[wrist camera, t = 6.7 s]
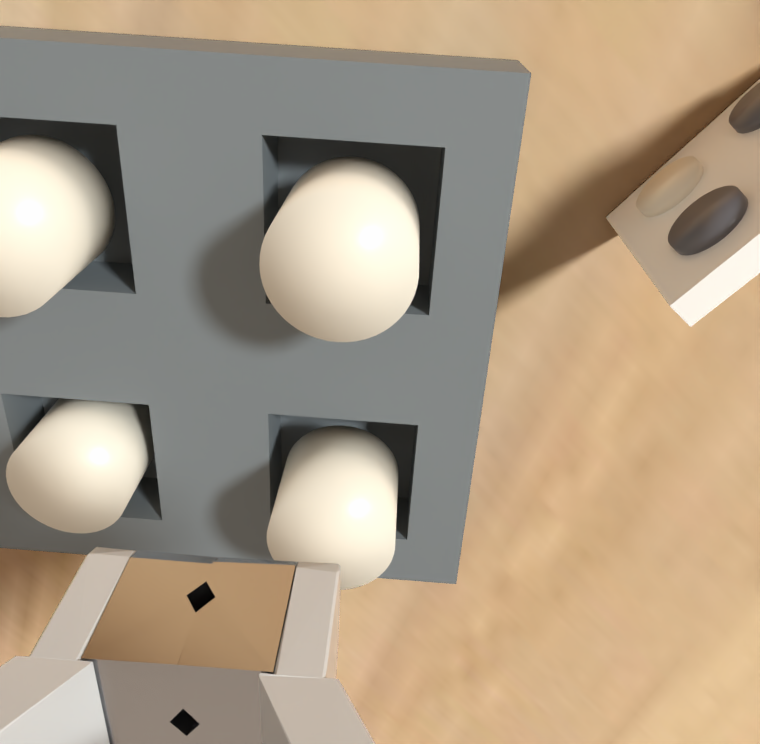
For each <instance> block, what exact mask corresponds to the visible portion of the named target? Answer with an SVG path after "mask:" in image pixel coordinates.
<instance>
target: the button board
mask: <svg viewBox="0 0 760 744" xmlns="http://www.w3.org/2000/svg"><path fill="white" fill-rule="evenodd" d="M530 78H531V73H530V72H529V71H528V70H527V69H526V68H525V67H524V66H523V65H522V64H521V63H520V62H519V61H518V60H506V59H491V58H476V57H461V56H446V55H431V54H416V53H401V52H386V51H371V50H356V49H341V48H326V47H311V46H296V45H281V44H266V43H250V42H235V41H220V40H205V39H190V38H175V37H160V36H145V35H130V34H115V33H100V32H85V31H70V30H55V29H40V28H25V27H10V26H0V142H2V141H5V140H7V139H9V138H12V137H16V136H20V135H42V136H47V137H51V138H55V139H57V140H60V141H62V142H64V143H66V144H68V145H70V146H72V147H73V148H75V149H76V150H78V151H79V152H81V153H82V154H83V155H84V156H85V157H86V158H88V159H89V160H90V162H91V163H92V164H93V165H94V166H95V167H96V168H97V170H98V171H99V172H100V174H101V175H102V177H103V178H104V180H105V182H106V184H107V186H108V188H109V190H110V193H111V196H112V199H113V203H114V208H115V226H114V230H113V234H112V237H111V239H110V242H109V243H108V245H107V247H106V248H105V249H104V251H103V252H102V253H101V254H100V255H99V256H98V257H97V258H95V259H94V260H93V261H92V262H91V263H90V264H89V265H88V266H87V267H85V268H84V269H83V270H82V271H81V272H80V273H79V274H78V275H76V276H75V277H74V278H73V279H72V280H71V281H70V282H69V283H67V284H66V285H65V286H64V287H63V288H62V289H61V290H60V291H58V292H57V293H56V294H55V295H54V296H53V297H52V298H51V299H49V300H48V301H47V302H46V303H45V304H44V305H43V306H41V307H40V308H38V309H36V310H35V311H33V312H30V313H28V314H25V315H21V316H16V317H0V548H9V549H22V550H34V551H47V552H60V553H72V554H85V555H88V554H89V553H90V552H91V551H92V550H94V549H95V548H96V547H103V548H113V549H123V550H133V551H137V550H144V551H154V552H165V553H176V554H186V555H197V556H207V557H217V558H218V557H228V558H244V559H261V560H273V558H272V556H271V554H270V552H269V549H268V545H267V529H268V525H269V522H270V518H271V514H272V511H273V507H274V504H275V500H276V496H277V493H278V489H279V486H280V482H281V478H282V475H283V471H284V467H285V464H286V460H287V457H288V454H289V452H290V450H291V448H292V447H293V445H294V444H295V443H296V442H297V441H298V440H299V439H300V438H301V437H302V436H304V435H306V434H307V433H309V432H311V431H313V430H315V429H318V428H321V427H326V426H334V425H344V426H351V427H356V428H359V429H362V430H365V431H367V432H369V433H371V434H373V435H375V436H376V437H378V438H379V439H380V440H381V441H383V442H384V443H385V444H386V445H387V446H388V447H389V449H390V450H391V452H392V453H393V455H394V457H395V459H396V462H397V465H398V496H397V517H396V538H395V551H394V556H393V558H392V561H391V563H390V564H389V566H388V568H387V569H386V570H385V571H384V572H383V573H382V574H381V575H380V576H379V577H377V578H386V579H399V580H412V581H424V582H437V583H449V584H456V581H457V574H458V567H459V560H460V553H461V547H462V540H463V533H464V526H465V519H466V513H467V506H468V499H469V492H470V485H471V479H472V472H473V465H474V458H475V451H476V445H477V438H478V431H479V424H480V417H481V411H482V404H483V397H484V390H485V384H486V377H487V370H488V363H489V356H490V350H491V343H492V336H493V329H494V322H495V316H496V309H497V302H498V295H499V288H500V282H501V275H502V268H503V261H504V254H505V248H506V241H507V234H508V227H509V220H510V214H511V207H512V200H513V193H514V186H515V180H516V173H517V166H518V159H519V152H520V146H521V139H522V132H523V125H524V118H525V112H526V105H527V98H528V91H529V84H530ZM338 157H360V158H365V159H369V160H373V161H375V162H377V163H380V164H382V165H384V166H385V167H387V168H389V169H390V170H391V171H393V172H394V173H395V174H396V175H397V176H398V177H399V178H400V179H401V180H402V181H403V182H404V183H405V184H406V186H407V187H408V188H409V190H410V192H411V194H412V195H413V197H414V200H415V202H416V205H417V209H418V213H419V221H420V235H419V279H418V285H417V289H416V292H415V296H414V298H413V300H412V302H411V304H410V306H409V307H408V309H407V310H406V312H405V313H404V314H403V316H402V317H401V318H400V319H399V320H398V321H397V322H396V323H395V324H393V325H392V326H391V327H390V328H388V329H387V330H385V331H384V332H382V333H380V334H378V335H376V336H373V337H371V338H368V339H364V340H360V341H354V342H332V341H326V340H322V339H318V338H315V337H312V336H310V335H307V334H305V333H303V332H301V331H300V330H298V329H296V328H295V327H294V326H292V325H291V324H289V323H288V322H287V321H286V320H285V319H284V318H283V317H282V316H281V315H280V314H279V313H278V312H277V311H276V309H275V308H274V306H273V305H272V304H271V302H270V300H269V298H268V297H267V295H266V292H265V290H264V287H263V284H262V280H261V276H260V267H259V262H260V251H261V246H262V243H263V240H264V237H265V235H266V233H267V231H268V229H269V227H270V225H271V223H272V222H273V220H274V218H275V217H276V215H277V213H278V212H279V210H280V208H281V206H282V205H283V203H284V201H285V200H286V198H287V196H288V195H289V193H290V191H291V190H292V188H293V186H294V185H295V184H296V182H297V181H298V180H299V179H300V177H301V176H302V175H303V174H304V173H306V172H307V171H308V170H309V169H311V168H312V167H314V166H316V165H317V164H319V163H321V162H324V161H326V160H329V159H333V158H338ZM59 398H65V399H78V400H92V401H105V402H118V403H131V404H144V405H148V406H149V410H150V419H151V428H152V436H153V445H154V453H155V455H154V457H153V459H152V460H151V462H150V464H149V466H148V468H147V470H146V471H145V473H144V475H143V477H142V479H141V480H140V482H139V484H138V486H137V488H136V490H135V491H134V493H133V495H132V497H131V499H130V500H129V502H128V504H127V506H126V508H125V510H124V511H123V513H122V515H121V516H120V518H119V519H118V520H117V521H116V522H115V523H114V524H112V525H111V526H109V527H107V528H105V529H103V530H100V531H97V532H92V533H70V532H64V531H60V530H57V529H54V528H51V527H49V526H47V525H45V524H43V523H41V522H39V521H37V520H36V519H34V518H33V517H31V516H30V515H29V514H28V513H26V512H25V511H24V510H23V509H22V508H21V507H20V505H19V504H18V503H17V502H16V500H15V499H14V497H13V496H12V494H11V492H10V490H9V487H8V484H7V479H6V468H7V463H8V461H9V458H10V457H11V455H12V454H13V452H14V451H15V450H16V449H17V448H18V446H19V445H20V444H21V443H22V442H23V441H24V439H25V438H26V437H27V436H28V435H29V433H30V432H31V431H32V430H33V429H34V428H35V426H36V425H37V424H38V423H39V422H40V420H41V419H42V418H43V417H44V416H45V414H46V413H47V412H48V411H49V410H50V409H51V407H52V406H53V405H54V404H55V403H56V401H57V400H58V399H59Z"/></svg>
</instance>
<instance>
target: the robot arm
mask: <svg viewBox="0 0 760 744" xmlns="http://www.w3.org/2000/svg"><path fill="white" fill-rule="evenodd" d="M340 587H341V566H340V565H339V564H333V563H315V562H294V561H278V560H261V559H244V558H228V557H218V558H217V557H207V556H197V555H186V554H176V553H165V552H154V551H144V550H137V551H133V550H123V549H113V548H103V547H96V548H95V549H94V550H92V551H91V552H90V553H89V554H88V555H87V556H86V557H85V559H84V560H83V562H82V564H81V566H80V567H79V569H78V571H77V573H76V574H75V576H74V578H73V580H72V581H71V583H70V585H69V587H68V588H67V590H66V592H65V594H64V595H63V597H62V599H61V601H60V603H59V604H58V606H57V608H56V610H55V611H54V613H53V615H52V617H51V618H50V620H49V622H48V624H47V625H46V627H45V629H44V631H43V632H42V634H41V636H40V638H39V639H38V641H37V643H36V645H35V647H34V648H33V650H32V652H31V654H30V655H29V657H28V656H15V657H13V658H12V659H10V660H9V661H7V662H6V663H4V664H3V665H1V666H0V744H375V742H374V741H373V739H372V737H371V735H370V734H369V732H368V730H367V728H366V726H365V725H364V723H363V721H362V719H361V718H360V716H359V714H358V712H357V711H356V709H355V707H354V705H353V704H352V702H351V700H350V698H349V697H348V695H347V693H346V691H345V690H344V688H343V686H342V684H341V683H340V681H339V679H336V672H337V655H338V639H339V616H340Z"/></svg>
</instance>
